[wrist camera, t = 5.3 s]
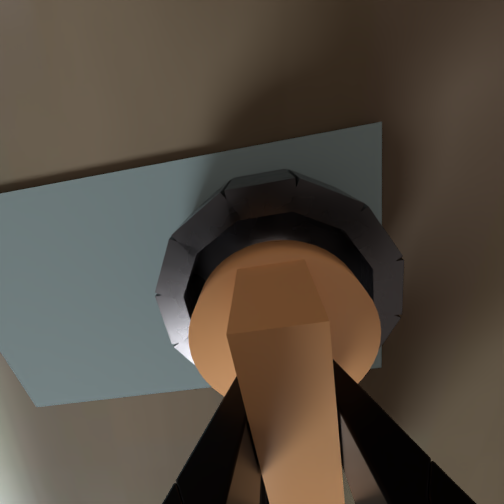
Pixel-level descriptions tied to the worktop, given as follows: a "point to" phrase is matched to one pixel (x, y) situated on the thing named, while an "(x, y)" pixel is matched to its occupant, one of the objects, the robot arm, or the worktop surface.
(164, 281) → the black ring
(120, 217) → the mat
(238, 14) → the worktop surface
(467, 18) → the worktop surface
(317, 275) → the rotary knob
